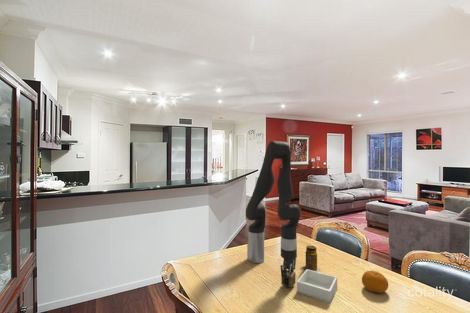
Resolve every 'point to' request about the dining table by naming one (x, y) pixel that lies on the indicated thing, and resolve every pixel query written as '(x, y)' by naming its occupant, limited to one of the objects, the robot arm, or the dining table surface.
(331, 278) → the tub
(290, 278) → the walnut cube
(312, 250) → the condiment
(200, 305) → the dining table surface
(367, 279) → the fruit
